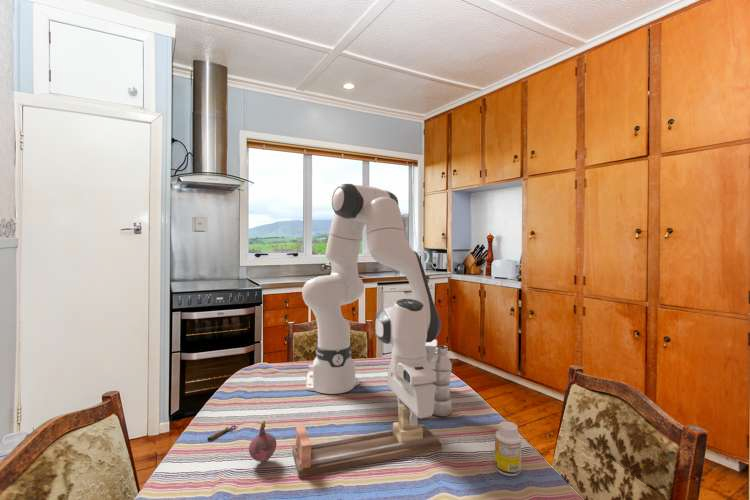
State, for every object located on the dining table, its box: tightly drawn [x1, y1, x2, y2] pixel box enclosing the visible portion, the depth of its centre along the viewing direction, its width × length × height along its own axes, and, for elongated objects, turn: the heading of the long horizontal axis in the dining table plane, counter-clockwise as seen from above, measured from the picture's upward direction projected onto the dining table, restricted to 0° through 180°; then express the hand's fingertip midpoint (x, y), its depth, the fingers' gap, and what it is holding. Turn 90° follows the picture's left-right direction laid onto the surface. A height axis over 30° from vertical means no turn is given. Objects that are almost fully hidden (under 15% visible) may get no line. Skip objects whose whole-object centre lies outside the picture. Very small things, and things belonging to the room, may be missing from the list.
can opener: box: [207, 424, 239, 442], centre depth 101 cm, size 9×2×1 cm, turn 145°
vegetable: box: [248, 420, 277, 464], centre depth 88 cm, size 6×6×10 cm
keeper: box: [392, 404, 423, 443], centre depth 97 cm, size 5×6×8 cm
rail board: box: [292, 423, 443, 479], centre depth 93 cm, size 10×35×6 cm, turn 110°
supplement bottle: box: [494, 420, 522, 477], centre depth 87 cm, size 6×6×10 cm
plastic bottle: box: [429, 345, 453, 417], centre depth 113 cm, size 6×7×20 cm
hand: (407, 419), depth 97 cm, fingers open, 4 cm apart
